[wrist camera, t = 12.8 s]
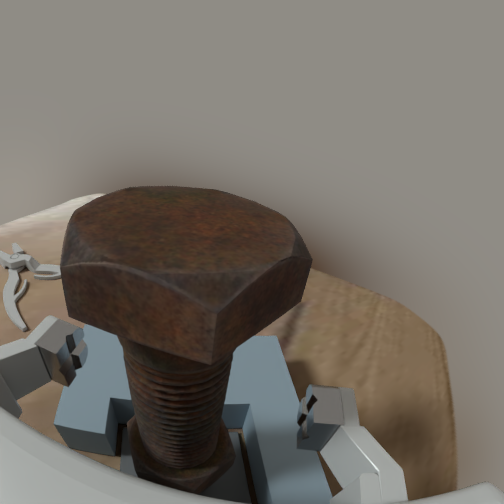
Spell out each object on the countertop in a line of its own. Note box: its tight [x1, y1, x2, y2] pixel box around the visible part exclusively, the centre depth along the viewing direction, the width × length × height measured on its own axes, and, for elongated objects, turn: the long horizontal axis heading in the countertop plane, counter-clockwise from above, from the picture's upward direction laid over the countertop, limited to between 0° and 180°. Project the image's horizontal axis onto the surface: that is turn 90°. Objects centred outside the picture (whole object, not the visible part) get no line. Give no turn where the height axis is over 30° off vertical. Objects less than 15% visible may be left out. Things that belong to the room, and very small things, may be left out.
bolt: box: [60, 186, 312, 495], centre depth 10 cm, size 6×5×15 cm
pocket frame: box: [54, 325, 333, 504], centre depth 12 cm, size 20×14×3 cm
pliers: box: [0, 243, 61, 332], centre depth 26 cm, size 10×2×15 cm
